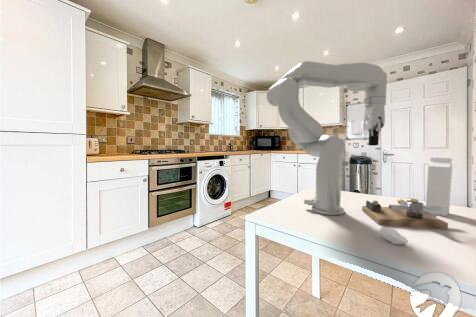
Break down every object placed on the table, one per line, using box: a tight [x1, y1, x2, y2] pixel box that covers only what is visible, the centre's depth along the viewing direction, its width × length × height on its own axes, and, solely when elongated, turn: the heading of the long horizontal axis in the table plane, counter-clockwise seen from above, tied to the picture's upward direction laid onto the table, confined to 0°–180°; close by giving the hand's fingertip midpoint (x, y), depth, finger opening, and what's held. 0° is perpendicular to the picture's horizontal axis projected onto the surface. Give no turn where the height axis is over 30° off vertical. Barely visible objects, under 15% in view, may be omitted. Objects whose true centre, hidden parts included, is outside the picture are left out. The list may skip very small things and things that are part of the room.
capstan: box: [388, 197, 442, 219], centre depth 72 cm, size 16×16×6 cm
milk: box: [425, 157, 453, 217], centre depth 81 cm, size 6×6×22 cm
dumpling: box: [380, 226, 409, 245], centre depth 58 cm, size 7×5×4 cm
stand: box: [361, 199, 449, 230], centre depth 76 cm, size 20×15×6 cm
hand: (373, 145), depth 89 cm, fingers closed
